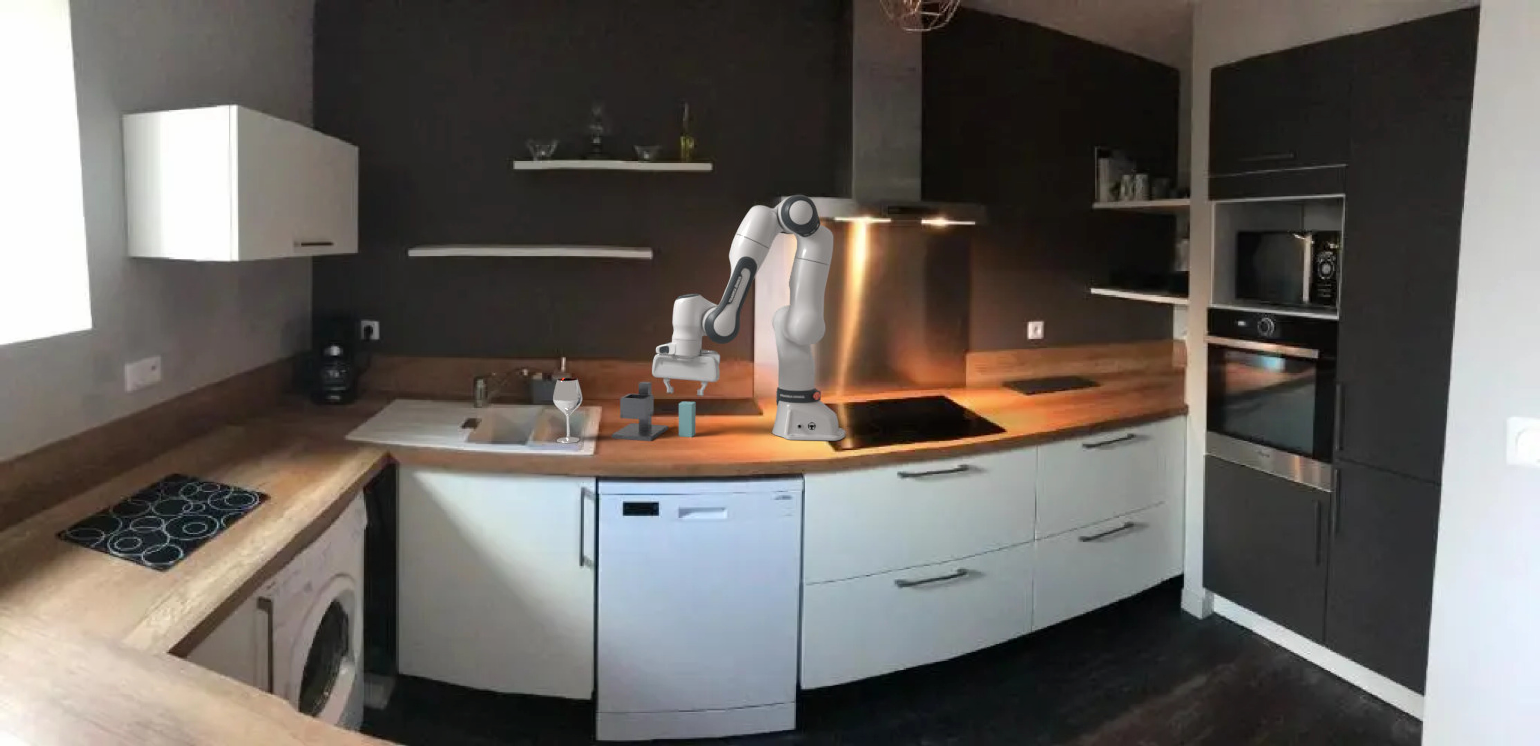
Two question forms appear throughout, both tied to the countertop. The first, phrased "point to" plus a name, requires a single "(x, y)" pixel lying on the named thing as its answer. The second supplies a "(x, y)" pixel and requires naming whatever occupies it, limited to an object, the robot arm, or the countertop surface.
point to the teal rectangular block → (687, 419)
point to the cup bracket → (639, 415)
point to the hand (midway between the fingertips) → (685, 394)
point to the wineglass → (567, 402)
